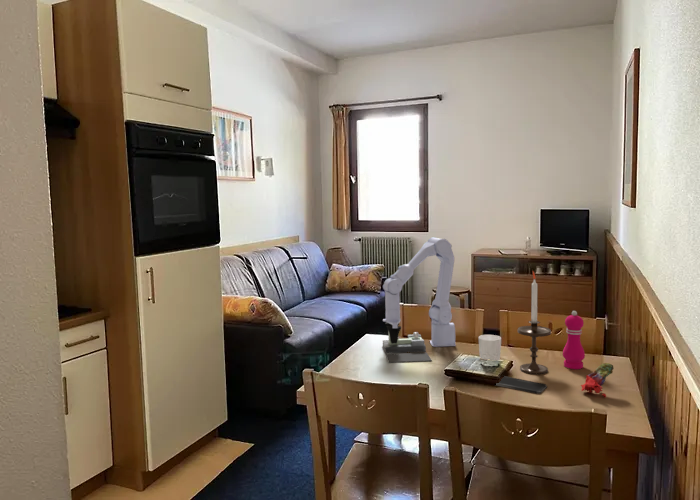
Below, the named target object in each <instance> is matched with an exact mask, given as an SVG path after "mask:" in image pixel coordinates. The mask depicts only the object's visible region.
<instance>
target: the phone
mask: <svg viewBox="0 0 700 500" xmlns="http://www.w3.org/2000/svg"><path fill="white" fill-rule="evenodd" d="M503 376H504V377H503V378H502V379H501V381H500V382H499V383H496V385H495V386H497V387H502V388H507V389H512V390H517V391H520V392H521V391H522V392H527V393H531V394H536V395H540V394H542V393H543V392H544V391H546V390H547V385H548V384H546V383H542V382H536V381H533V380H532V381H531V380H526V379H520V378H516V377H510V376H505V375H503Z"/></svg>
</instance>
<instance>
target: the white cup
mask: <svg viewBox="0 0 700 500" xmlns="http://www.w3.org/2000/svg"><path fill="white" fill-rule="evenodd" d="M501 349H502V337H501V336H500V335H496V334H495V335H494V334H481V335H479V336H478V351H479V353H478V354H479V359H480V358H482V359H490V360H500V358H501ZM500 361H501V360H500Z"/></svg>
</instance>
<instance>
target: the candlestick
mask: <svg viewBox="0 0 700 500" xmlns="http://www.w3.org/2000/svg"><path fill="white" fill-rule="evenodd" d="M532 279H533V281H532V283H531V315H530V316H531V317H530V318H531V320H528V321H527V323H529V324H530V325H523V326H519V327H518V328H517V333H518V334H520V335H522V336H526V337H531V347H529V351H530V352H531V354H530V355H529V356H530V358H531V363H522V364H521V365H520V366H519V370H520V371H521V372H522V373H524V374H529V375H544V374H547V373H548V371H549V370H548V369H549V368H548V367H547V366H546V365H542V364H538V363H537V358H538V355H537V352H538V351H539V347H537V338H538V337H539V338H540V337H541V338H542V337H547V336H550V335H551V334H552V330H551V329H550V328H549V327H544V326H541V325H538V324H540V323H541V322H540V321H539V320H538V283H537V282H536V275H535V272H534V271H532Z"/></svg>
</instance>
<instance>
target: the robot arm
mask: <svg viewBox="0 0 700 500" xmlns="http://www.w3.org/2000/svg"><path fill="white" fill-rule="evenodd" d="M452 247H453V246H452V243H450V242H449V240H447V239H446V238H438V237H433V236H432V237H430V238H428V240H427V241H425V242H424V243H423V245H422V246H421V248H420V249H419V250H418V251H417V253H416V254H415V255H414V256H413V257H412V258H411V260H409V262H408V263H405V264H402V265H399V266H398V267H397V268H398V269H397V270H396V271H395V273H393V274H391V275H390V276H389V278H386V279H385V281H384V282H383V285H382V289H383V290H384V293H385V295H384V296H385V298H384V299H385V305H384V306H385V307H384V308H385V318H383V319H382V322H384V324H385V326H386V329H387V332H388V331H389V334H390V340H391V343H392V344H393V343H397V340H398V339H399V334H400V332H401V329H402V326H400V323H401V320H402V319H401V307H400V306H401V305H400V303H401V298H400V296H401V295H400V292H401V291H402V290H403V286H404V285H405V284H406V283H407V282H408V281H409V279H410V278H412V276H414V272H415V271H414V270H415V269H416V268H417V267H419V266H420V264H421V263H423V261H425V260H426V259H427V258H428V257H433V256H436V258H437V259H439V261H440V262H439V263H440V265H439V271H438V279H437V284H436V285H437V286H436V292H435V293H436V294H435V298H434V299H433V301H432V303H431V306H430V307H429V310H428V316H429V318H430V319H431V340H429V341H430V342H429V343H430V345H431V346H432V347H435V348H436V347H456V326H455V325H456V324H455V323H454V322H451V321H452V320H453V319H452V318H453V315H452V305H451V303H450V302H449V301H450V294H451V287H452V280H453V272H454V265H455V255H454V252H453V249H452Z"/></svg>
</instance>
